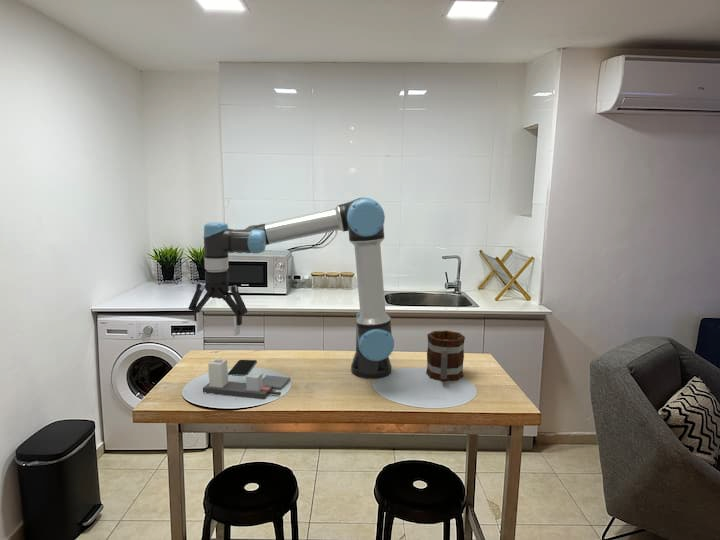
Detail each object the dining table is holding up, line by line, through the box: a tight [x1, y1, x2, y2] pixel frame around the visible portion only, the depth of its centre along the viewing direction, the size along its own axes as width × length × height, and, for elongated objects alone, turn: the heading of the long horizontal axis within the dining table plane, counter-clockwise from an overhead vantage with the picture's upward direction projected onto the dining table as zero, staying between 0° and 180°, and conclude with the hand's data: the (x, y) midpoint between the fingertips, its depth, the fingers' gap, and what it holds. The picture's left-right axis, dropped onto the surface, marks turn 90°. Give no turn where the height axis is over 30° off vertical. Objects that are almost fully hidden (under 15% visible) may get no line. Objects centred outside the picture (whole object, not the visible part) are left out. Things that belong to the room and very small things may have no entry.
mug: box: [425, 330, 466, 383], centre depth 180 cm, size 20×14×15 cm
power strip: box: [202, 380, 282, 400], centre depth 167 cm, size 26×7×2 cm, turn 78°
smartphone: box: [228, 359, 258, 377], centre depth 189 cm, size 7×1×15 cm
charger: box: [208, 358, 229, 387], centre depth 168 cm, size 4×4×8 cm
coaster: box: [262, 375, 291, 391], centre depth 174 cm, size 9×9×1 cm
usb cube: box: [245, 371, 264, 391], centre depth 166 cm, size 4×4×4 cm
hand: (218, 332), depth 167 cm, fingers open, 13 cm apart
